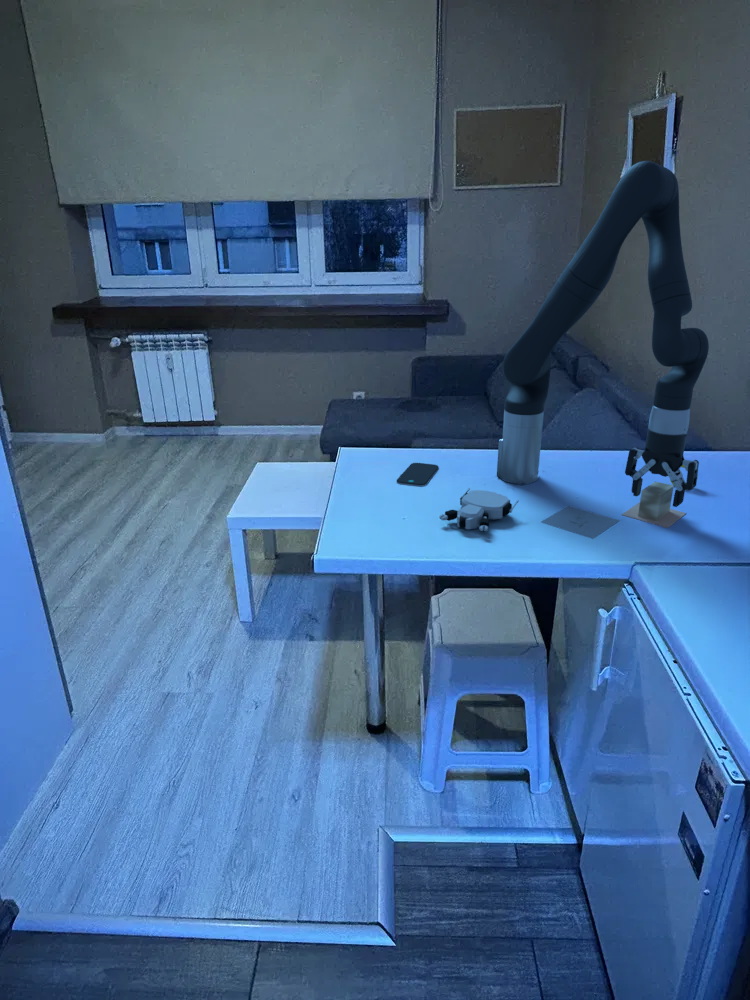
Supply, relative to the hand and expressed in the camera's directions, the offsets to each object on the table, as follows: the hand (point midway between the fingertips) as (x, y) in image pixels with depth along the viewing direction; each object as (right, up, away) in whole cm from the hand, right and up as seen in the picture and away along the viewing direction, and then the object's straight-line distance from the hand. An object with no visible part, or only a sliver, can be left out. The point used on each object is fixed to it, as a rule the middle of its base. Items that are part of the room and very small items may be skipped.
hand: (656, 500), depth 146 cm
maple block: (0, -3, +1) cm, 3 cm away
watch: (+13, +3, +17) cm, 21 cm away
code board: (-17, -5, -2) cm, 18 cm away
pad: (0, -3, +1) cm, 3 cm away
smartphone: (-50, +6, +26) cm, 56 cm away
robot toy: (-38, -5, 0) cm, 39 cm away
